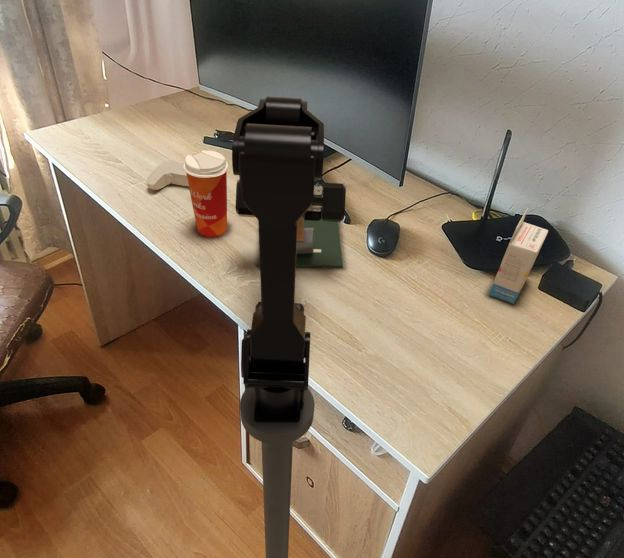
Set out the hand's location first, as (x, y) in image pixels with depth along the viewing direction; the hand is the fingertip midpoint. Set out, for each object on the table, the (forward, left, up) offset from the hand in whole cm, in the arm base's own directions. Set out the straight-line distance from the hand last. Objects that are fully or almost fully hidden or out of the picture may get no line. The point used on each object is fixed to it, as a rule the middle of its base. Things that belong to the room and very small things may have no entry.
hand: (292, 210), depth 98 cm
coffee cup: (-16, +5, -8) cm, 19 cm away
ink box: (+41, -12, -8) cm, 43 cm away
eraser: (+1, -1, -7) cm, 7 cm away
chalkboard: (+2, +5, -8) cm, 10 cm away
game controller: (-24, +21, -8) cm, 33 cm away
